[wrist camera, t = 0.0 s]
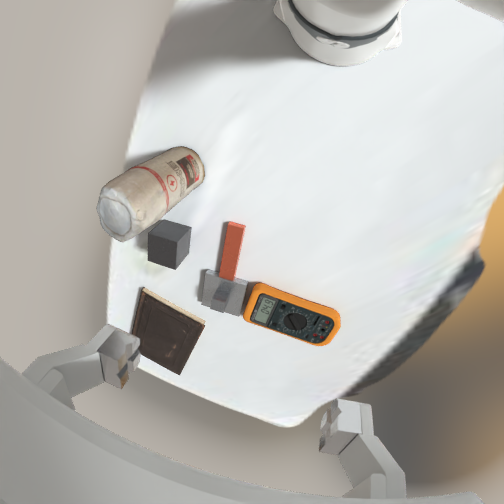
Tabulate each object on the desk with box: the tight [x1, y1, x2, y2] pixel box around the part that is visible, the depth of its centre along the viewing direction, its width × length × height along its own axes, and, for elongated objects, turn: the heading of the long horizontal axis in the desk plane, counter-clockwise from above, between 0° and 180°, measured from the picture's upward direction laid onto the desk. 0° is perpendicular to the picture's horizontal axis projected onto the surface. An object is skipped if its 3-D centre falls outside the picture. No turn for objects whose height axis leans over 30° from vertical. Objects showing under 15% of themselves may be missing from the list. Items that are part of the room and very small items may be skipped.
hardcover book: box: [132, 287, 205, 375], centre depth 70 cm, size 16×23×2 cm
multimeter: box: [243, 283, 340, 346], centre depth 57 cm, size 9×18×4 cm, turn 73°
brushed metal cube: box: [148, 220, 191, 270], centre depth 53 cm, size 6×6×6 cm
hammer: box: [201, 222, 248, 316], centre depth 54 cm, size 19×8×5 cm, turn 168°
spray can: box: [97, 146, 205, 242], centre depth 40 cm, size 8×8×20 cm
